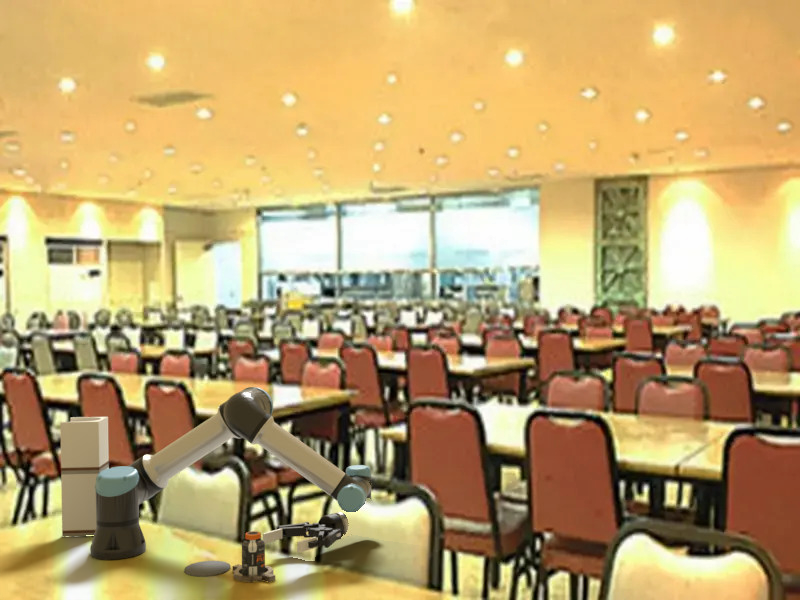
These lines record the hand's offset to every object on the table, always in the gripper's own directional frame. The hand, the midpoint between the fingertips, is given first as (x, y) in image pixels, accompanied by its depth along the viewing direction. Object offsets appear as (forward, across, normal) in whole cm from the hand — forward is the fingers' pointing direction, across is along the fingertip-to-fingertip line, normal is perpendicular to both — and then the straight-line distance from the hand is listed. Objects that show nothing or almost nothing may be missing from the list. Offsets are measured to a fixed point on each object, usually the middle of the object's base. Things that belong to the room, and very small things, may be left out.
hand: (280, 543), depth 243 cm
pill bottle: (+10, 0, +7) cm, 12 cm away
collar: (+10, 0, +6) cm, 12 cm away
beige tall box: (+13, -74, +7) cm, 76 cm away
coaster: (+14, -14, +6) cm, 21 cm away
